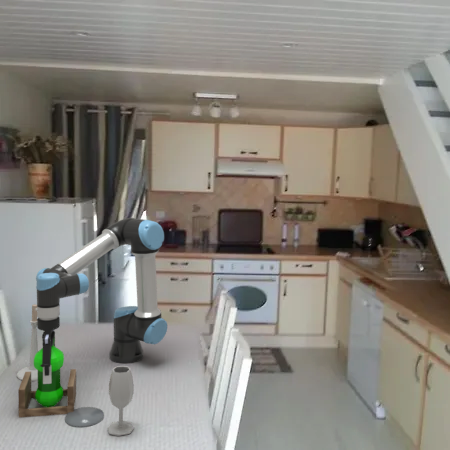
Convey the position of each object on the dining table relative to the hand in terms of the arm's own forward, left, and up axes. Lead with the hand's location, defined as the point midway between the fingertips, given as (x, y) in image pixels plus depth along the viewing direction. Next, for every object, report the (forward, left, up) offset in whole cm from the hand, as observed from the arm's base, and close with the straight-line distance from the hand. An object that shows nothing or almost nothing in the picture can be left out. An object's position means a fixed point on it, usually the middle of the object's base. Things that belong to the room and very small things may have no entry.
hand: (49, 376), depth 179 cm
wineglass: (-25, +21, -11) cm, 34 cm away
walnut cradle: (0, 0, -11) cm, 11 cm away
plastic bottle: (0, 0, -11) cm, 11 cm away
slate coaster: (-13, +11, -11) cm, 20 cm away
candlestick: (+9, -28, -11) cm, 31 cm away
